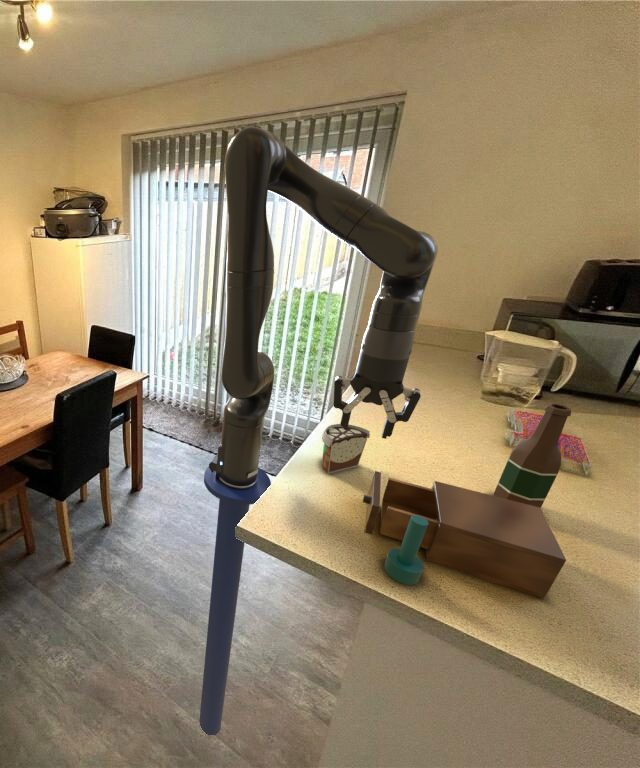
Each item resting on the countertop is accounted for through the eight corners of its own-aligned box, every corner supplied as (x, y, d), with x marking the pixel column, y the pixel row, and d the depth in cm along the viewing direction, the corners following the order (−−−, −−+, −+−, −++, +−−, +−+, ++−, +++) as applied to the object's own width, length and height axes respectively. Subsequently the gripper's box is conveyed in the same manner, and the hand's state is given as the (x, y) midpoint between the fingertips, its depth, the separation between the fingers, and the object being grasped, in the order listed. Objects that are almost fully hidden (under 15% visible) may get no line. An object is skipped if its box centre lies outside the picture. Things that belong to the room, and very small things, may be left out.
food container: (343, 452, 104) (351, 419, 101) (362, 465, 99) (371, 430, 95) (305, 461, 101) (311, 427, 97) (323, 474, 96) (330, 439, 92)
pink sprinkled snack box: (502, 414, 122) (508, 399, 120) (572, 429, 113) (580, 413, 111) (503, 456, 101) (510, 439, 99) (588, 479, 92) (599, 461, 90)
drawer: (357, 530, 78) (365, 502, 75) (361, 494, 87) (368, 469, 85) (457, 563, 70) (470, 534, 67) (449, 520, 80) (460, 493, 77)
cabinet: (426, 559, 72) (440, 522, 68) (422, 514, 83) (434, 480, 79) (544, 599, 64) (566, 560, 61) (522, 543, 75) (540, 507, 71)
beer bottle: (547, 512, 82) (599, 411, 73) (524, 522, 80) (574, 419, 70) (504, 490, 89) (546, 395, 80) (481, 498, 87) (522, 401, 77)
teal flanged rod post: (383, 576, 69) (401, 524, 64) (384, 556, 73) (400, 505, 68) (419, 590, 66) (440, 536, 61) (417, 568, 70) (437, 516, 65)
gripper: (432, 351, 69) (407, 433, 76) (342, 340, 76) (326, 416, 83) (436, 364, 63) (408, 452, 70) (337, 350, 70) (321, 431, 77)
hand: (364, 432), depth 76 cm, fingers open, 6 cm apart
